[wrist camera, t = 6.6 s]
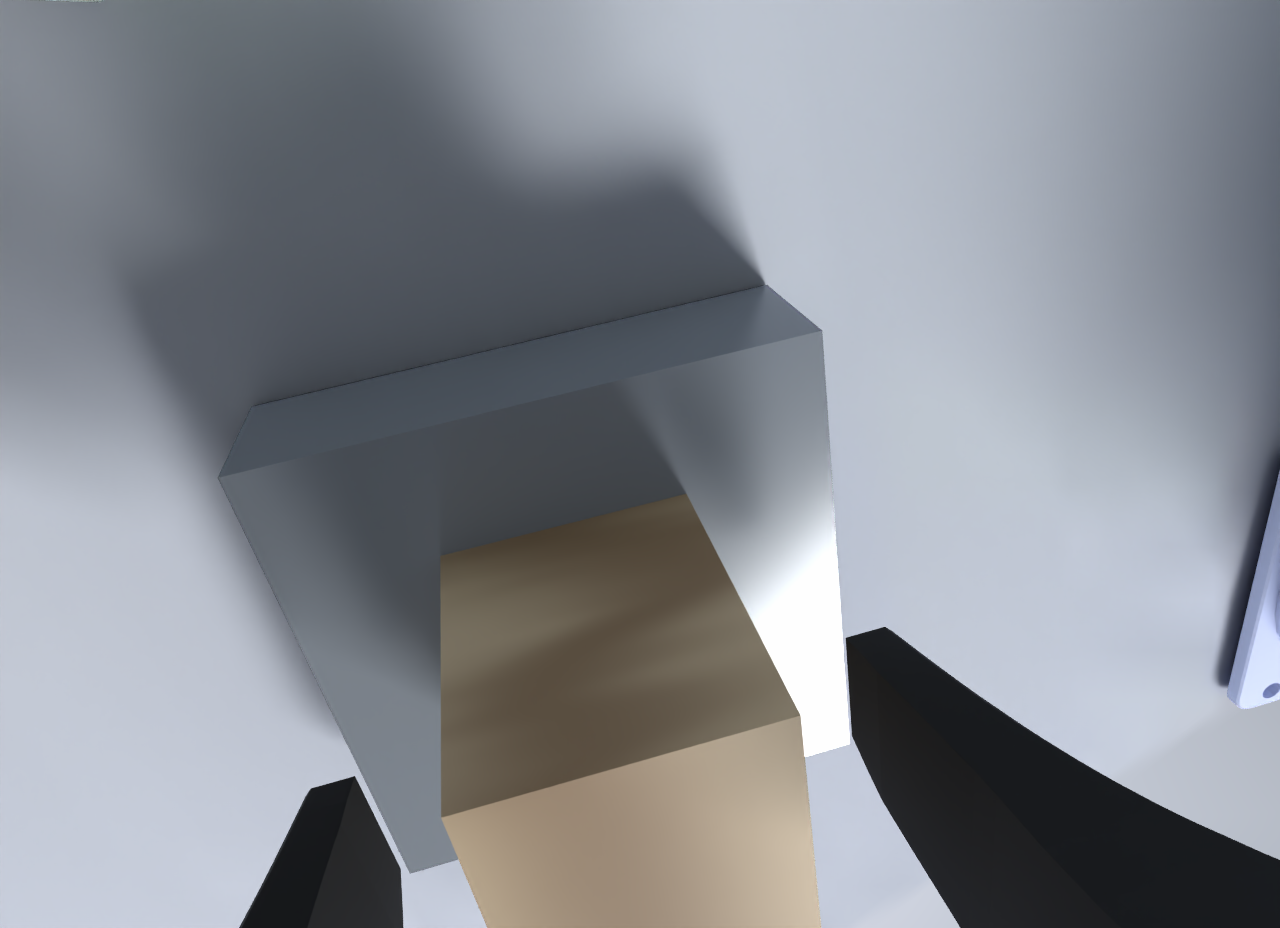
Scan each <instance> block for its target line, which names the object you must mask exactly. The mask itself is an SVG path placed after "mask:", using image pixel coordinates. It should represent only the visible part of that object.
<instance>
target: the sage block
mask: <svg viewBox="0 0 1280 928" xmlns="http://www.w3.org/2000/svg"><path fill="white" fill-rule="evenodd" d="M47 1H77V2H102V1H103V0H47Z"/></svg>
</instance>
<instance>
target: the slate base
mask: <svg viewBox="0 0 1280 928" xmlns="http://www.w3.org/2000/svg"><path fill="white" fill-rule="evenodd" d="M218 479H219V481H220V483H221V485H222V487H223V490H224V492H225V494H226V496H227V498H228V500H229V502H230V504H231V506H232V508H233V510H234V512H235V514H236V516H237V518H238V520H239V522H240V525H241V527H242V529H243V531H244V533H245V535H246V537H247V539H248V541H249V543H250V545H251V547H252V549H253V551H254V553H255V555H256V557H257V560H258V562H259V564H260V566H261V568H262V570H263V572H264V574H265V576H266V578H267V580H268V582H269V584H270V586H271V588H272V590H273V592H274V595H275V597H276V599H277V601H278V603H279V605H280V607H281V609H282V611H283V613H284V615H285V617H286V619H287V621H288V623H289V625H290V627H291V629H292V632H293V634H294V636H295V638H296V640H297V642H298V644H299V646H300V648H301V650H302V652H303V654H304V656H305V658H306V660H307V662H308V664H309V667H310V669H311V671H312V673H313V675H314V677H315V679H316V681H317V683H318V685H319V687H320V689H321V691H322V693H323V695H324V697H325V699H326V702H327V704H328V706H329V708H330V710H331V712H332V714H333V716H334V718H335V720H336V722H337V724H338V726H339V728H340V730H341V732H342V734H343V737H344V739H345V741H346V743H347V745H348V747H349V749H350V751H351V753H352V755H353V757H354V759H355V761H356V763H357V765H358V767H359V769H360V772H361V774H362V776H363V778H364V780H365V782H366V784H367V786H368V788H369V790H370V792H371V794H372V796H373V798H374V800H375V802H376V804H377V807H378V809H379V811H380V813H381V815H382V817H383V819H384V821H385V823H386V825H387V827H388V829H389V831H390V833H391V835H392V837H393V839H394V842H395V844H396V846H397V848H398V850H399V852H400V854H401V856H402V858H403V860H404V862H405V864H406V866H407V868H408V870H409V872H410V874H411V873H414V872H417V871H421V870H424V869H428V868H431V867H434V866H438V865H441V864H445V863H448V862H451V861H455V860H458V857H457V854H456V852H455V850H454V847H453V845H452V843H451V840H450V838H449V836H448V833H447V831H446V828H445V826H444V824H443V821H442V819H441V598H440V556H442V555H446V554H450V553H454V552H458V551H462V550H466V549H470V548H474V547H478V546H482V545H486V544H490V543H494V542H498V541H502V540H506V539H510V538H513V537H517V536H521V535H525V534H529V533H533V532H537V531H541V530H545V529H549V528H553V527H557V526H561V525H565V524H569V523H573V522H577V521H581V520H585V519H589V518H592V517H596V516H600V515H604V514H608V513H612V512H616V511H620V510H624V509H628V508H632V507H636V506H640V505H644V504H648V503H652V502H656V501H660V500H664V499H668V498H671V497H675V496H679V495H683V494H687V496H688V498H689V500H690V501H691V503H692V505H693V507H694V509H695V511H696V513H697V515H698V517H699V519H700V521H701V523H702V525H703V527H704V529H705V531H706V533H707V534H708V536H709V538H710V540H711V542H712V544H713V546H714V548H715V550H716V552H717V554H718V556H719V558H720V560H721V562H722V564H723V566H724V567H725V569H726V571H727V573H728V575H729V577H730V579H731V581H732V583H733V585H734V587H735V589H736V591H737V593H738V595H739V597H740V599H741V600H742V602H743V604H744V606H745V608H746V610H747V612H748V614H749V616H750V618H751V620H752V622H753V624H754V626H755V628H756V630H757V632H758V634H759V635H760V637H761V639H762V641H763V643H764V645H765V647H766V649H767V651H768V653H769V655H770V657H771V659H772V661H773V663H774V665H775V667H776V668H777V670H778V672H779V674H780V676H781V678H782V680H783V682H784V684H785V686H786V688H787V690H788V692H789V694H790V696H791V698H792V700H793V701H794V703H795V705H796V707H797V709H798V711H799V713H800V715H801V723H802V734H803V744H804V755H805V757H807V756H811V755H814V754H817V753H821V752H824V751H828V750H831V749H834V748H838V747H841V746H845V745H848V744H850V739H849V724H848V710H847V695H846V680H845V665H844V650H843V635H842V620H841V605H840V590H839V575H838V560H837V545H836V530H835V515H834V500H833V485H832V470H831V455H830V440H829V426H828V411H827V396H826V381H825V366H824V351H823V336H822V330H821V329H820V328H818V327H817V326H816V325H815V324H814V323H812V322H811V321H810V320H809V319H808V318H806V317H805V316H804V315H803V314H802V313H800V312H799V311H798V310H797V309H795V308H794V307H793V306H792V305H791V304H789V303H788V302H787V301H786V300H785V299H783V298H782V297H781V296H780V295H779V294H777V293H776V292H775V291H774V290H773V289H771V288H770V287H769V286H768V285H764V286H760V287H756V288H752V289H747V290H743V291H739V292H735V293H730V294H726V295H722V296H718V297H714V298H709V299H705V300H701V301H697V302H692V303H688V304H684V305H680V306H676V307H671V308H667V309H663V310H659V311H654V312H650V313H646V314H642V315H637V316H633V317H629V318H625V319H621V320H616V321H612V322H608V323H604V324H599V325H595V326H591V327H587V328H583V329H578V330H574V331H570V332H566V333H561V334H557V335H553V336H549V337H545V338H540V339H536V340H532V341H528V342H523V343H519V344H515V345H511V346H506V347H502V348H498V349H494V350H490V351H485V352H481V353H477V354H473V355H468V356H464V357H460V358H456V359H452V360H447V361H443V362H439V363H435V364H430V365H426V366H422V367H418V368H413V369H409V370H405V371H401V372H397V373H392V374H388V375H384V376H380V377H375V378H371V379H367V380H363V381H359V382H354V383H350V384H346V385H342V386H337V387H333V388H329V389H325V390H320V391H316V392H312V393H308V394H304V395H299V396H295V397H291V398H287V399H282V400H278V401H274V402H270V403H266V404H261V405H257V406H253V407H251V409H250V411H249V414H248V416H247V418H246V420H245V422H244V424H243V426H242V428H241V430H240V432H239V435H238V437H237V439H236V441H235V443H234V445H233V447H232V449H231V451H230V453H229V456H228V458H227V460H226V462H225V464H224V466H223V468H222V470H221V472H220V474H219V477H218Z"/></svg>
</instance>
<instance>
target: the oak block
mask: <svg viewBox="0 0 1280 928" xmlns="http://www.w3.org/2000/svg"><path fill="white" fill-rule="evenodd" d="M440 598H441V819H442V821H443V824H444V826H445V828H446V831H447V833H448V836H449V838H450V840H451V843H452V845H453V847H454V850H455V852H456V854H457V857H458V859H459V862H460V864H461V866H462V869H463V871H464V873H465V876H466V878H467V880H468V883H469V885H470V888H471V890H472V892H473V895H474V897H475V899H476V902H477V904H478V906H479V909H480V911H481V914H482V916H483V918H484V921H485V923H486V925H487V928H821V921H820V911H819V900H818V890H817V880H816V869H815V859H814V848H813V838H812V827H811V817H810V807H809V796H808V786H807V775H806V765H805V755H804V744H803V734H802V723H801V715H800V713H799V711H798V709H797V707H796V705H795V703H794V701H793V700H792V698H791V696H790V694H789V692H788V690H787V688H786V686H785V684H784V682H783V680H782V678H781V676H780V674H779V672H778V670H777V668H776V667H775V665H774V663H773V661H772V659H771V657H770V655H769V653H768V651H767V649H766V647H765V645H764V643H763V641H762V639H761V637H760V635H759V634H758V632H757V630H756V628H755V626H754V624H753V622H752V620H751V618H750V616H749V614H748V612H747V610H746V608H745V606H744V604H743V602H742V600H741V599H740V597H739V595H738V593H737V591H736V589H735V587H734V585H733V583H732V581H731V579H730V577H729V575H728V573H727V571H726V569H725V567H724V566H723V564H722V562H721V560H720V558H719V556H718V554H717V552H716V550H715V548H714V546H713V544H712V542H711V540H710V538H709V536H708V534H707V533H706V531H705V529H704V527H703V525H702V523H701V521H700V519H699V517H698V515H697V513H696V511H695V509H694V507H693V505H692V503H691V501H690V500H689V498H688V496H687V494H683V495H679V496H675V497H671V498H668V499H664V500H660V501H656V502H652V503H648V504H644V505H640V506H636V507H632V508H628V509H624V510H620V511H616V512H612V513H608V514H604V515H600V516H596V517H592V518H589V519H585V520H581V521H577V522H573V523H569V524H565V525H561V526H557V527H553V528H549V529H545V530H541V531H537V532H533V533H529V534H525V535H521V536H517V537H513V538H510V539H506V540H502V541H498V542H494V543H490V544H486V545H482V546H478V547H474V548H470V549H466V550H462V551H458V552H454V553H450V554H446V555H442V556H440Z"/></svg>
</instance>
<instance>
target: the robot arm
mask: <svg viewBox="0 0 1280 928" xmlns="http://www.w3.org/2000/svg"><path fill="white" fill-rule="evenodd" d="M846 649H847V664H848V680H849V695H850V711H851V726H852V737H853V739H854V741H855V743H856V746H857V748H858V750H859V752H860V754H861V756H862V759H863V761H864V763H865V765H866V767H867V770H868V772H869V774H870V776H871V778H872V780H873V782H874V784H875V786H876V788H877V790H878V793H879V795H880V797H881V799H882V801H883V802H884V804H885V806H886V807H887V809H888V811H889V812H890V814H891V816H892V817H893V819H894V821H895V822H896V824H897V826H898V827H899V829H900V830H901V832H902V834H903V835H904V837H905V839H906V840H907V842H908V844H909V845H910V847H911V848H912V850H913V852H914V853H915V855H916V857H917V858H918V860H919V861H920V863H921V865H922V866H923V868H924V869H925V871H926V873H927V874H928V876H929V878H930V879H931V881H932V882H933V884H934V886H935V887H936V889H937V890H938V892H939V894H940V895H941V897H942V899H943V900H944V902H945V903H946V905H947V906H948V908H949V909H950V912H951V913H952V914H953V916H954V918H955V919H956V921H957V923H958V924H959V926H960V928H1280V860H1278V859H1276V858H1273V857H1271V856H1269V855H1266V854H1264V853H1262V852H1260V851H1257V850H1255V849H1253V848H1251V847H1248V846H1246V845H1244V844H1242V843H1239V842H1237V841H1235V840H1233V839H1231V838H1228V837H1226V836H1224V835H1222V834H1219V833H1217V832H1215V831H1213V830H1210V829H1208V828H1206V827H1204V826H1202V825H1199V824H1197V823H1195V822H1193V821H1191V820H1189V819H1186V818H1184V817H1182V816H1180V815H1178V814H1176V813H1174V812H1172V811H1170V810H1168V809H1166V808H1164V807H1162V806H1160V805H1158V804H1156V803H1154V802H1152V801H1150V800H1149V799H1147V798H1145V797H1143V796H1141V795H1139V794H1137V793H1135V792H1133V791H1132V790H1130V789H1128V788H1126V787H1124V786H1122V785H1120V784H1118V783H1117V782H1115V781H1113V780H1111V779H1110V778H1108V777H1106V776H1104V775H1102V774H1101V773H1099V772H1097V771H1095V770H1094V769H1092V768H1090V767H1089V766H1087V765H1085V764H1084V763H1082V762H1080V761H1078V760H1077V759H1075V758H1074V757H1072V756H1070V755H1069V754H1067V753H1065V752H1064V751H1062V750H1061V749H1059V748H1057V747H1056V746H1054V745H1052V744H1051V743H1049V742H1048V741H1046V740H1044V739H1043V738H1041V737H1040V736H1038V735H1037V734H1035V733H1033V732H1032V731H1030V730H1029V729H1027V728H1026V727H1024V726H1023V725H1021V724H1020V723H1018V722H1017V721H1015V720H1014V719H1012V718H1011V717H1009V716H1008V715H1006V714H1005V713H1003V712H1002V711H1000V710H999V709H998V708H996V707H995V706H993V705H992V704H990V703H989V702H987V701H986V700H984V699H983V698H981V697H980V696H979V695H977V694H976V693H974V692H973V691H972V690H970V689H969V688H967V687H966V686H965V685H963V684H962V683H960V682H959V681H958V680H956V679H955V678H954V677H952V676H951V675H949V674H948V673H947V672H945V671H944V670H943V669H941V668H940V667H939V666H937V665H936V664H935V663H933V662H932V661H931V660H929V659H928V658H927V657H925V656H924V655H923V654H921V653H920V652H919V651H917V650H916V649H915V648H913V647H912V646H911V645H909V644H908V643H907V642H906V641H904V640H903V639H902V638H900V637H899V636H898V635H896V634H895V633H894V632H892V631H891V630H889V629H888V628H886V627H883V628H879V629H876V630H872V631H869V632H865V633H861V634H858V635H854V636H851V637H847V638H846ZM1227 697H1228V698H1229V699H1230V700H1231V701H1232V702H1233V703H1234V704H1235V705H1237V706H1238V707H1239V708H1242V709H1248V708H1253V707H1256V706H1260V705H1263V704H1266V703H1269V702H1273V701H1276V700H1279V699H1280V471H1279V475H1278V479H1277V483H1276V488H1275V492H1274V496H1273V500H1272V504H1271V509H1270V513H1269V517H1268V521H1267V526H1266V530H1265V534H1264V538H1263V542H1262V547H1261V551H1260V555H1259V559H1258V564H1257V568H1256V572H1255V576H1254V580H1253V585H1252V589H1251V593H1250V597H1249V601H1248V606H1247V610H1246V614H1245V618H1244V623H1243V627H1242V631H1241V635H1240V639H1239V644H1238V648H1237V652H1236V656H1235V660H1234V665H1233V669H1232V673H1231V677H1230V682H1229V686H1228V690H1227ZM239 928H403V908H402V888H401V869H400V867H399V865H398V863H397V861H396V859H395V857H394V855H393V853H392V851H391V849H390V846H389V844H388V842H387V840H386V838H385V836H384V834H383V832H382V830H381V828H380V826H379V824H378V822H377V820H376V818H375V816H374V814H373V812H372V810H371V808H370V806H369V804H368V802H367V800H366V798H365V796H364V794H363V792H362V790H361V788H360V786H359V784H358V782H357V780H356V777H355V776H354V777H351V778H347V779H344V780H340V781H337V782H333V783H329V784H326V785H322V786H319V787H315V788H312V789H310V791H309V792H308V794H307V795H306V797H305V799H304V801H303V803H302V805H301V807H300V809H299V811H298V813H297V815H296V817H295V819H294V821H293V823H292V826H291V828H290V830H289V832H288V834H287V836H286V838H285V840H284V842H283V844H282V846H281V848H280V850H279V852H278V854H277V856H276V858H275V860H274V862H273V864H272V866H271V868H270V870H269V872H268V874H267V876H266V878H265V880H264V882H263V884H262V886H261V888H260V890H259V892H258V894H257V895H256V897H255V899H254V901H253V903H252V905H251V907H250V909H249V910H248V912H247V914H246V916H245V918H244V920H243V922H242V924H241V925H240V927H239Z"/></svg>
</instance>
